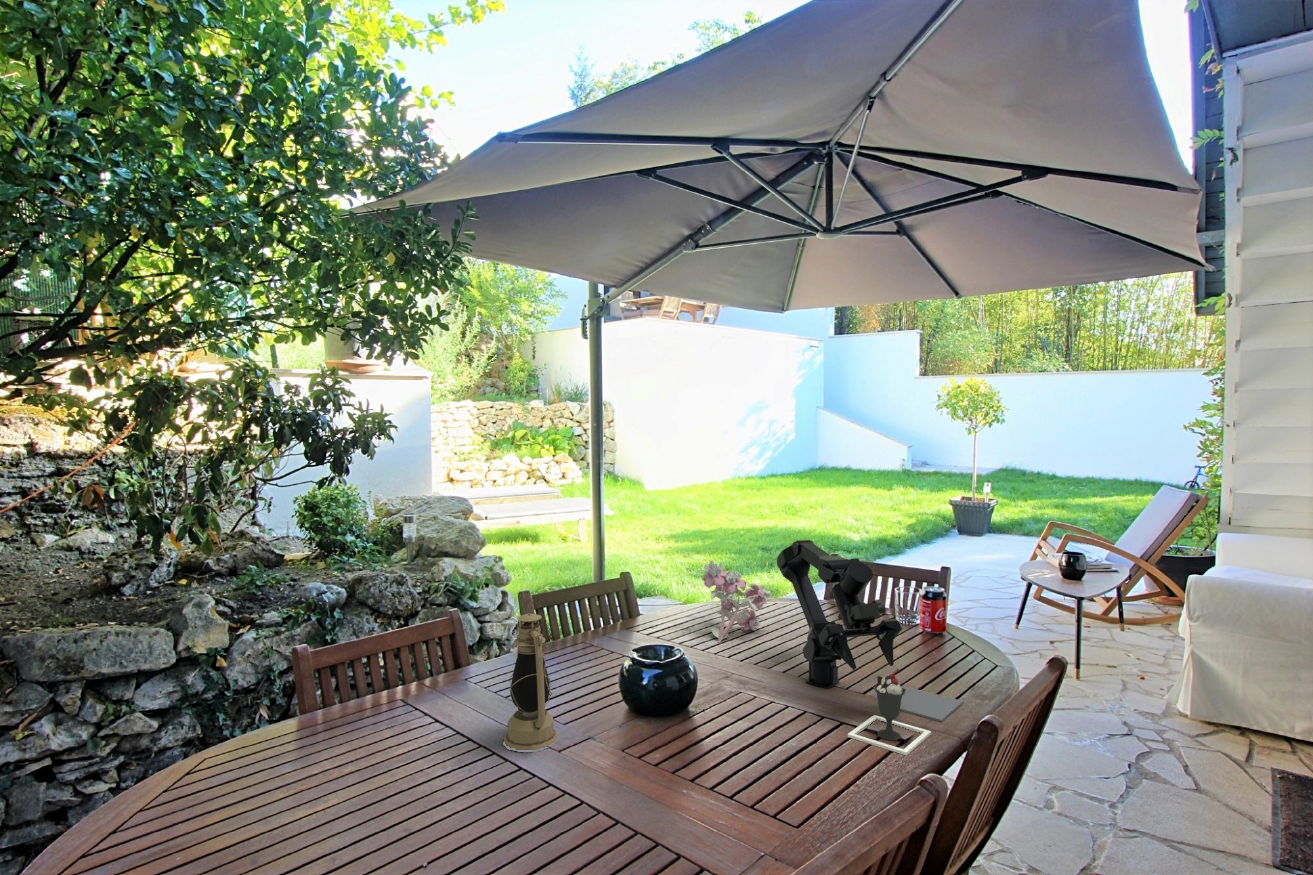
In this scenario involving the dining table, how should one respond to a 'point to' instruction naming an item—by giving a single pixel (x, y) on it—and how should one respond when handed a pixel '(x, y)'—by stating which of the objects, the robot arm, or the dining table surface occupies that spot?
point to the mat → (928, 704)
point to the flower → (728, 585)
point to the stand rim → (902, 751)
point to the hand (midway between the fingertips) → (873, 667)
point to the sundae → (889, 703)
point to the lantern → (530, 690)
